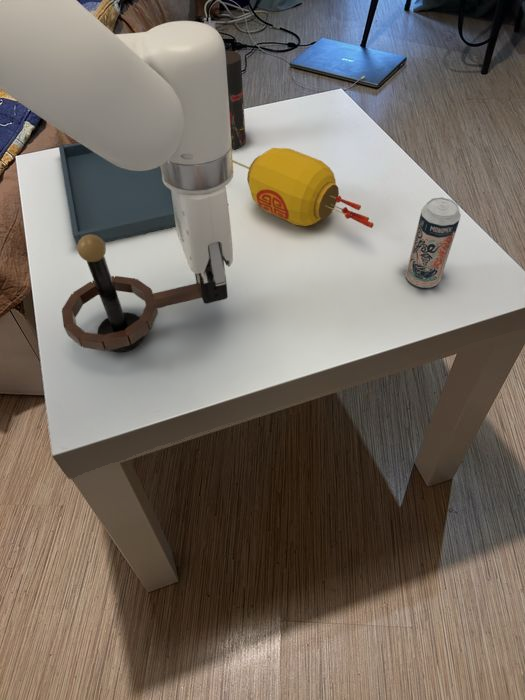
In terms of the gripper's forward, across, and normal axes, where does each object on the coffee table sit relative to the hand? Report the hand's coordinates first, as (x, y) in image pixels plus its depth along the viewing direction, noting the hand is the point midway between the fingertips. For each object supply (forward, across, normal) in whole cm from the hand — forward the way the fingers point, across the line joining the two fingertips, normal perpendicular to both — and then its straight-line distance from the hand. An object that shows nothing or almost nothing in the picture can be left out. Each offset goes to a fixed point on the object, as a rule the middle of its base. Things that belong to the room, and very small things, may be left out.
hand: (212, 291), depth 68 cm
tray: (+4, -34, -8) cm, 35 cm away
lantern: (+4, -17, +18) cm, 25 cm away
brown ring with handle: (0, 0, -9) cm, 9 cm away
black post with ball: (+4, 0, -12) cm, 13 cm away
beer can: (+4, +4, +30) cm, 30 cm away
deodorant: (+4, -42, +14) cm, 45 cm away
